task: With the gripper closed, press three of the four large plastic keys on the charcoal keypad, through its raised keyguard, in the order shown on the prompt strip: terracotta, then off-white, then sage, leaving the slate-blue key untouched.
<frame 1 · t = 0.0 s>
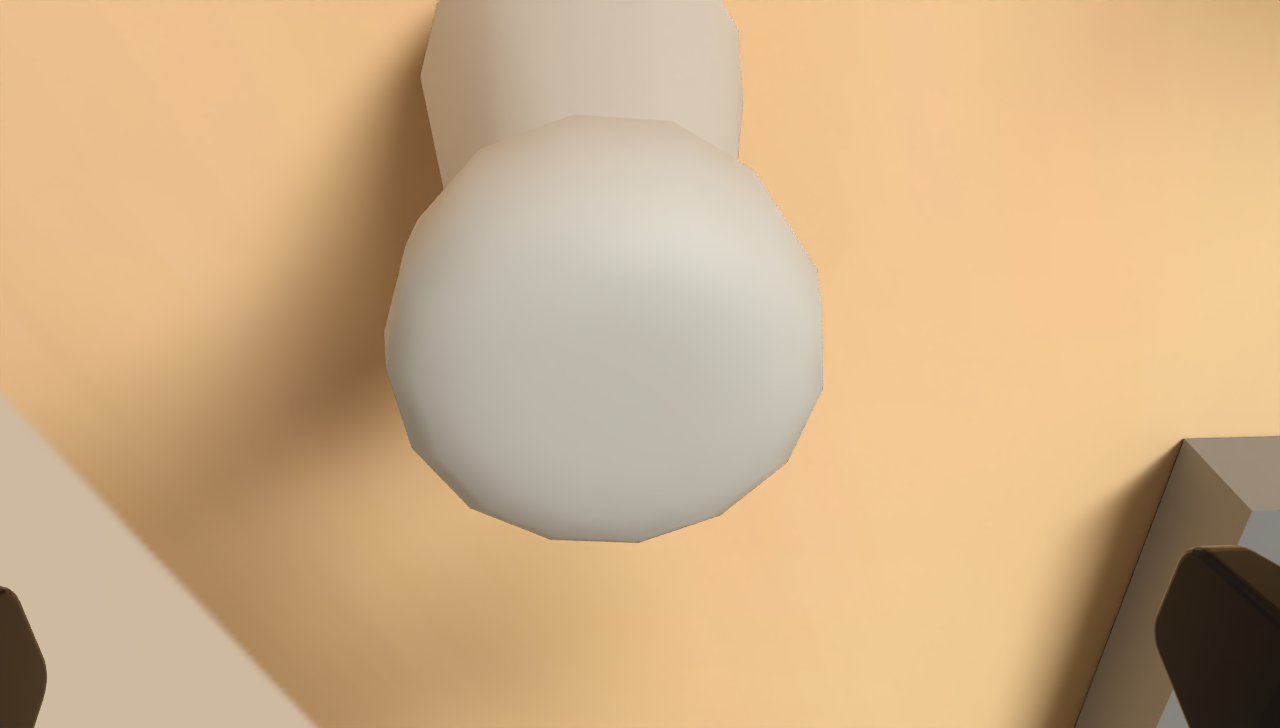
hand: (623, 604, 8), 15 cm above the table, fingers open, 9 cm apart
salt shaker: (582, 53, 20), on the table
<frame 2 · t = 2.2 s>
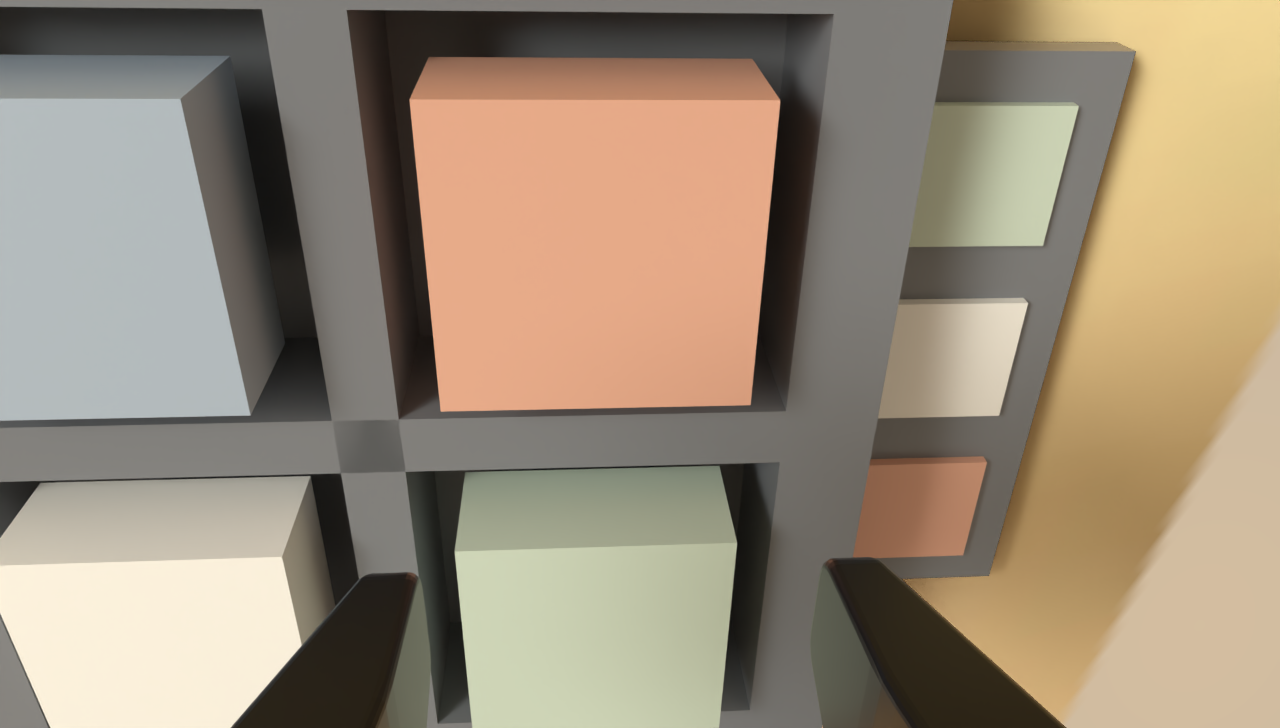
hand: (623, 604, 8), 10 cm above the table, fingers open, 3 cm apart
key terracotta: (595, 236, 14), point 3 cm above the table, slide at 0.0 cm
keypad: (396, 349, 18), on the table
key sage: (595, 603, 17), point 3 cm above the table, slide at 0.0 cm
key slate: (71, 240, 13), point 3 cm above the table, slide at 0.0 cm
key offwhite: (185, 617, 17), point 3 cm above the table, slide at 0.0 cm
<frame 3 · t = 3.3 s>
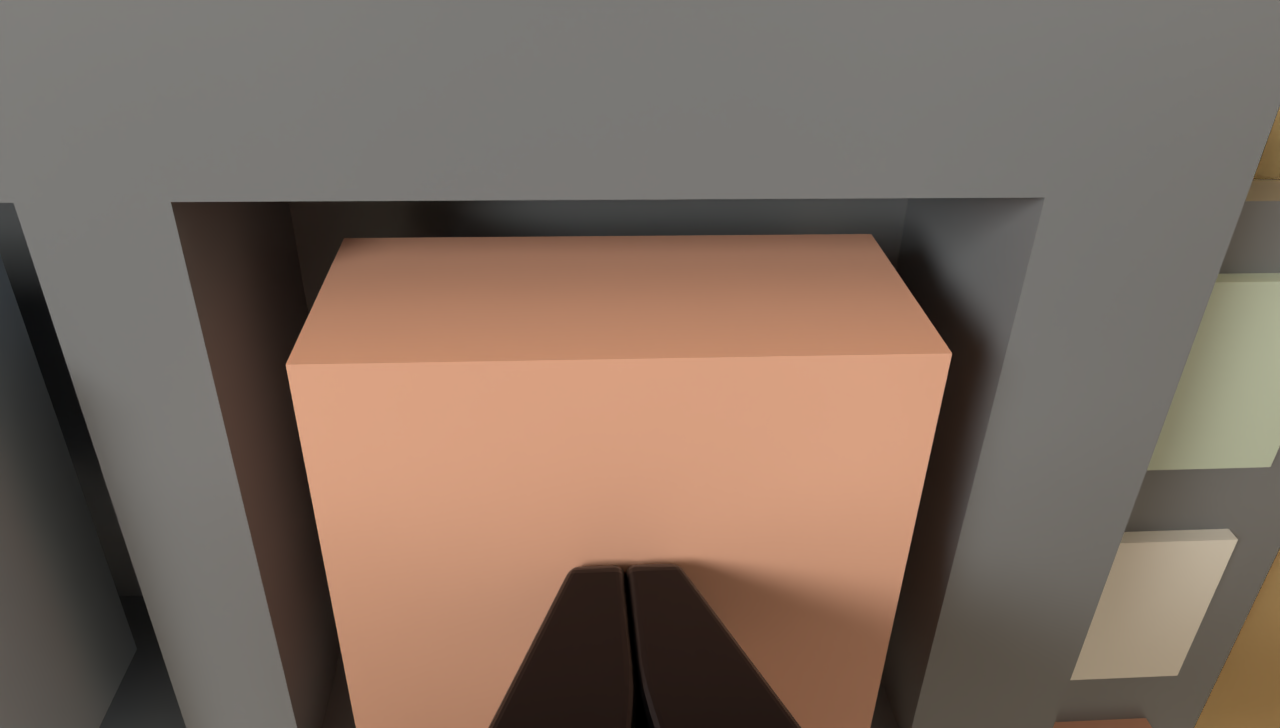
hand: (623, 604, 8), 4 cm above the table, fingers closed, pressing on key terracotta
key terracotta: (616, 518, 8), point 3 cm above the table, slide at 0.2 cm, touching gripper
keypad: (326, 596, 12), on the table
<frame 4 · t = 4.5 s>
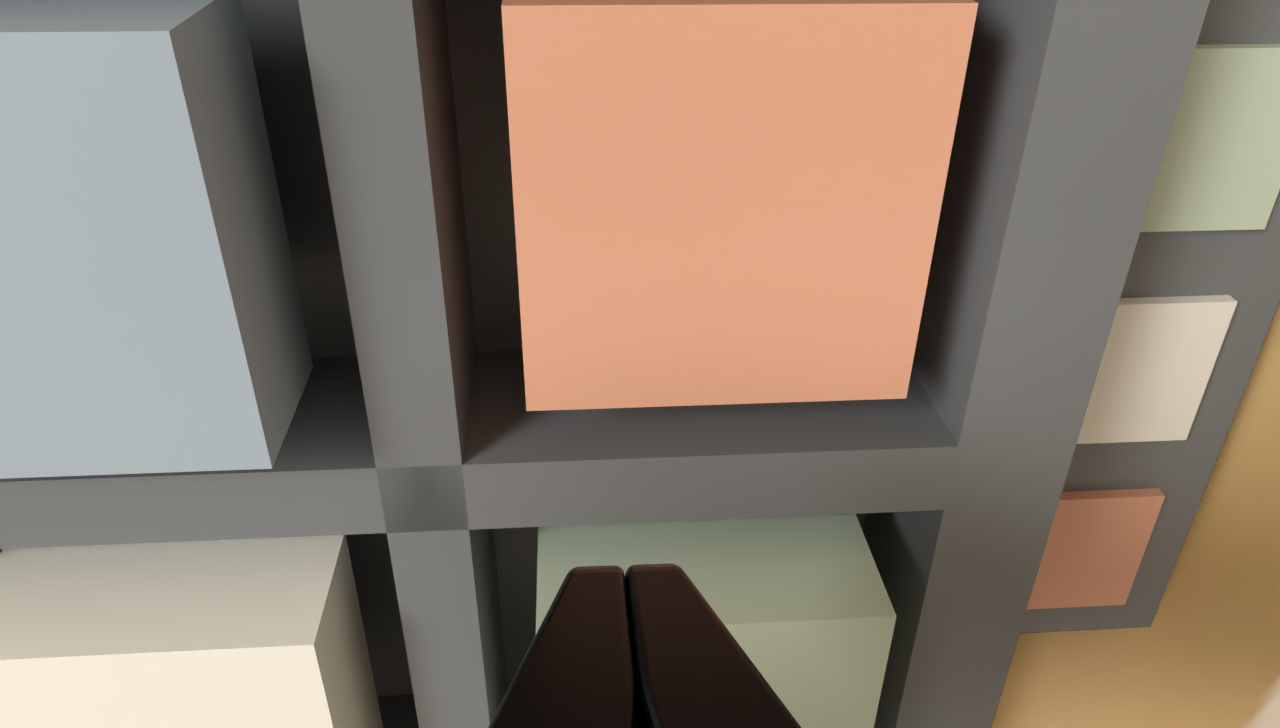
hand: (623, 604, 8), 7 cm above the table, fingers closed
key terracotta: (716, 191, 11), point 2 cm above the table, slide at 0.9 cm
keypad: (447, 368, 14), on the table
key sage: (700, 682, 14), point 3 cm above the table, slide at 0.0 cm
key slate: (28, 238, 10), point 3 cm above the table, slide at 0.0 cm
key offwhite: (191, 709, 13), point 3 cm above the table, slide at 0.0 cm
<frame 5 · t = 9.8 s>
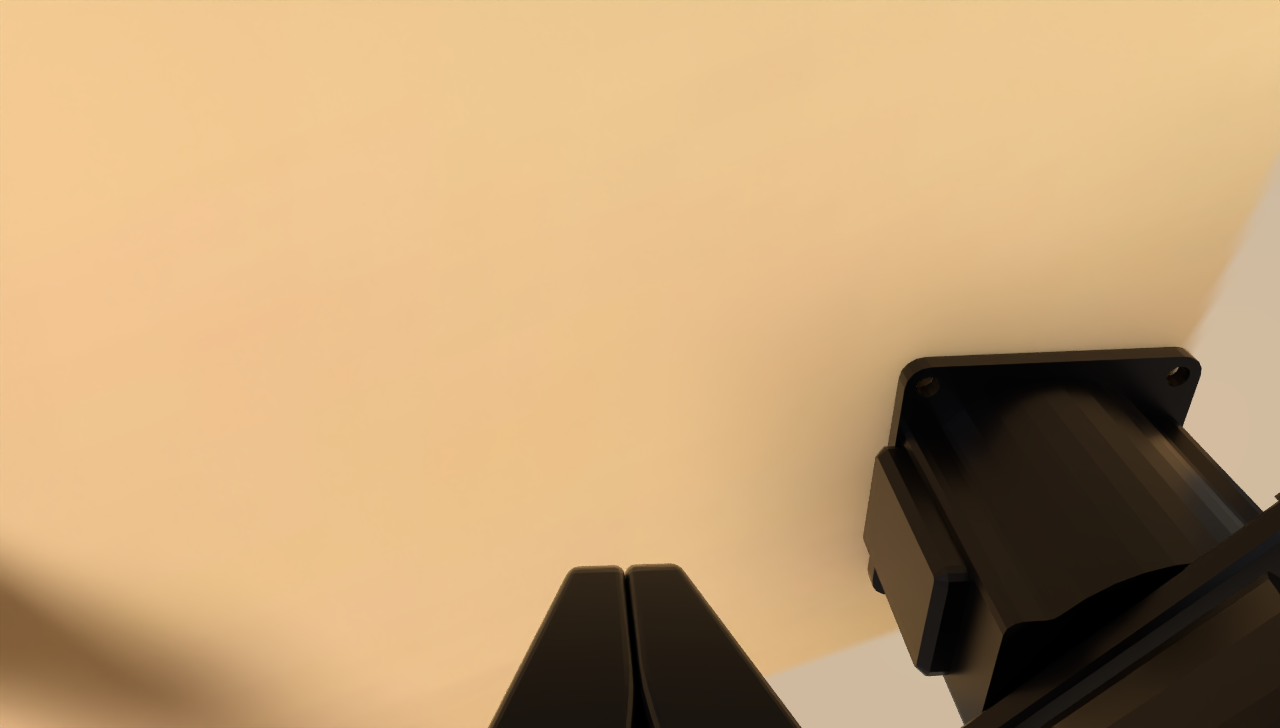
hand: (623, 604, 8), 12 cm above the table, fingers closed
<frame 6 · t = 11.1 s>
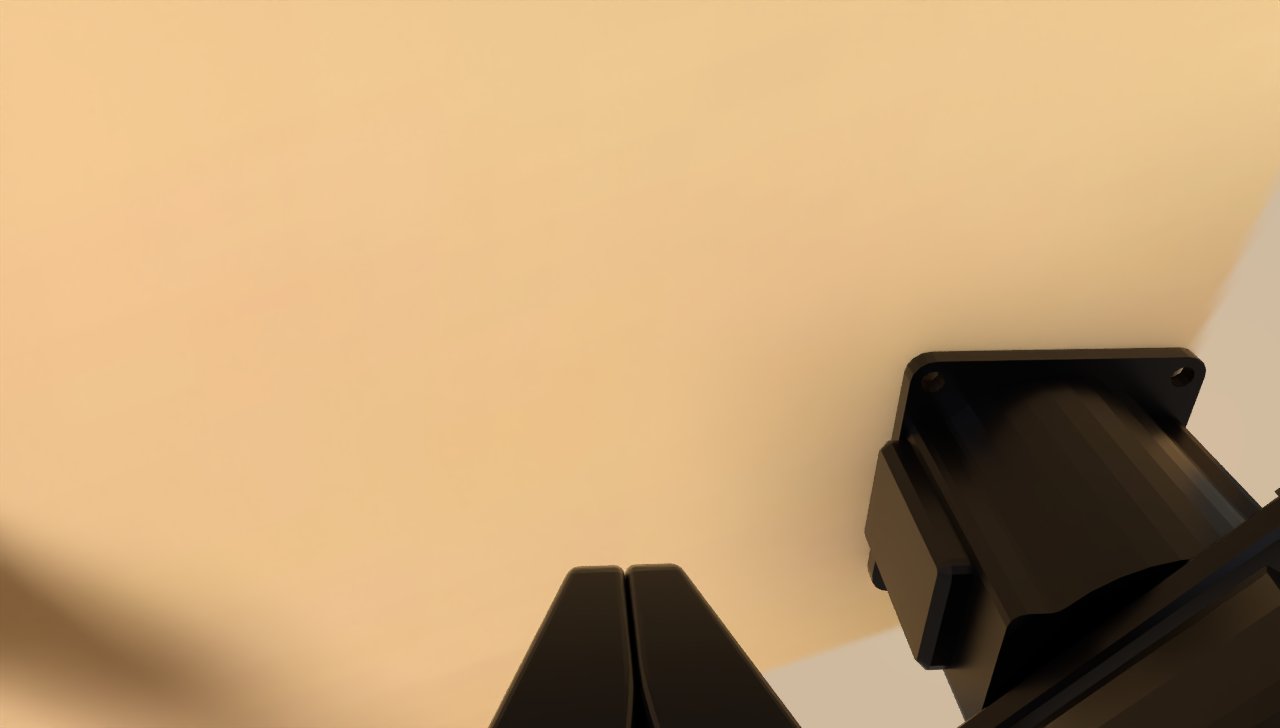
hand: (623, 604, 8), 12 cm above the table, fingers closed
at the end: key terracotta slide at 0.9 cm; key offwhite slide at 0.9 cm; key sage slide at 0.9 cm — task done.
